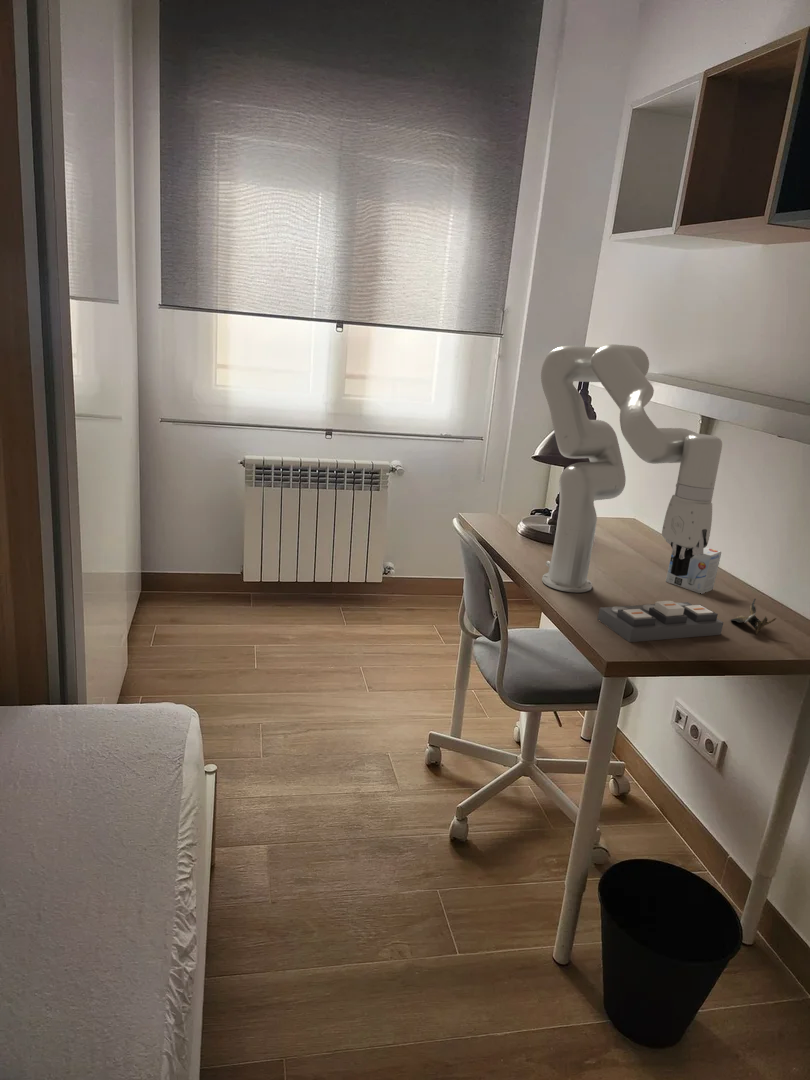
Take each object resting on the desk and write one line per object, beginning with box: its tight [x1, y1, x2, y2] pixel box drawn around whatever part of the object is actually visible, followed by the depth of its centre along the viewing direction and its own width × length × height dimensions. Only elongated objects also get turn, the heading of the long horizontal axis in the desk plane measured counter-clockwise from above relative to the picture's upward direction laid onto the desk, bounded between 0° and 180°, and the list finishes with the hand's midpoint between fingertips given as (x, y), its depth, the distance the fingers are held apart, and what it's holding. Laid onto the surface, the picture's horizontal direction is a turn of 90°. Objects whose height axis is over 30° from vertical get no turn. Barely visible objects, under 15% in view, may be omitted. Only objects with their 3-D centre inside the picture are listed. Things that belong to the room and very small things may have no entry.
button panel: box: [597, 601, 724, 643], centre depth 176 cm, size 12×25×5 cm, turn 111°
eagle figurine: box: [729, 598, 777, 635], centre depth 181 cm, size 8×7×9 cm
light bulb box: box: [665, 546, 722, 595], centre depth 205 cm, size 11×7×11 cm, turn 45°
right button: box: [685, 604, 714, 615], centre depth 177 cm, size 4×4×2 cm
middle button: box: [654, 600, 684, 616], centre depth 173 cm, size 4×4×2 cm
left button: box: [623, 609, 652, 619], centre depth 170 cm, size 4×4×2 cm
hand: (678, 574), depth 170 cm, fingers closed
